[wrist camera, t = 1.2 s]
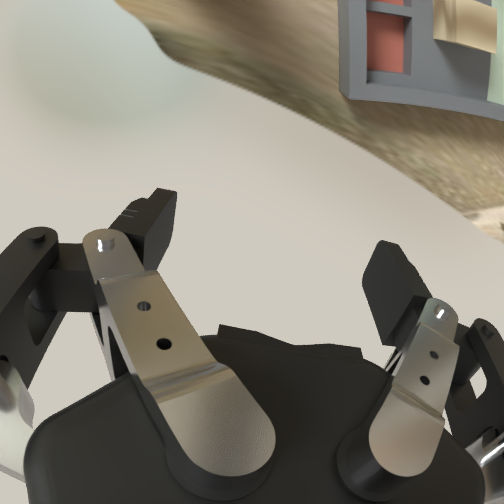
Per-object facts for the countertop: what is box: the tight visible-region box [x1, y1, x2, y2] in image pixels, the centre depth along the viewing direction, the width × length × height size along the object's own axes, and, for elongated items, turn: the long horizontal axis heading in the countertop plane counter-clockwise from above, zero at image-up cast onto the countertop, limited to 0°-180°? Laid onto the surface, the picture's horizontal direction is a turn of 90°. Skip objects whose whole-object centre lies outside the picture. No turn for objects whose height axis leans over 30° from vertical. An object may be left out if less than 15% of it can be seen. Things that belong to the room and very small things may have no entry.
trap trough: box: [338, 0, 504, 121], centre depth 20 cm, size 18×24×4 cm
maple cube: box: [433, 0, 497, 54], centre depth 18 cm, size 4×4×4 cm
